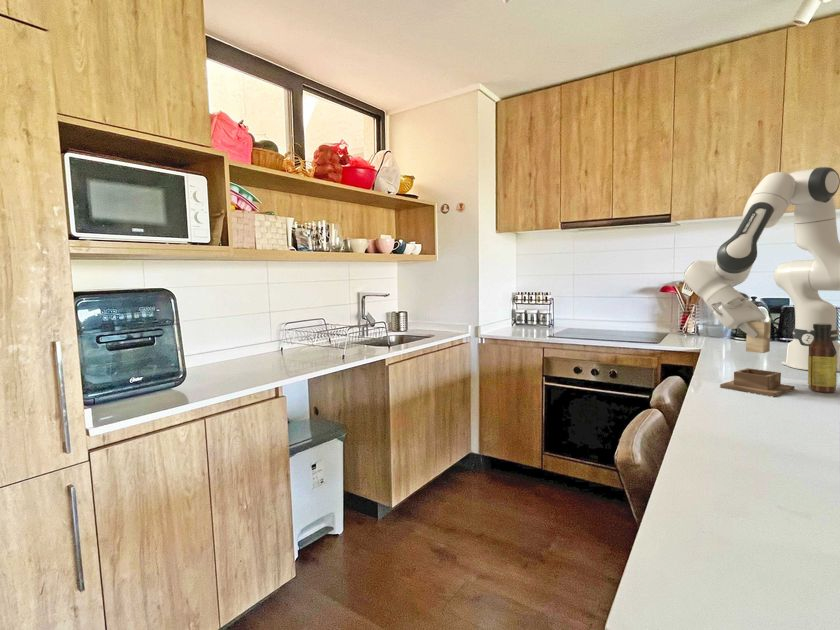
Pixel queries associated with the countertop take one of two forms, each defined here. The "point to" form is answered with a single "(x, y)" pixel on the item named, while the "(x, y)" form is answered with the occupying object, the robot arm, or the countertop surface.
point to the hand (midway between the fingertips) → (760, 335)
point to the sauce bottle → (822, 360)
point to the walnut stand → (757, 382)
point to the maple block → (759, 337)
